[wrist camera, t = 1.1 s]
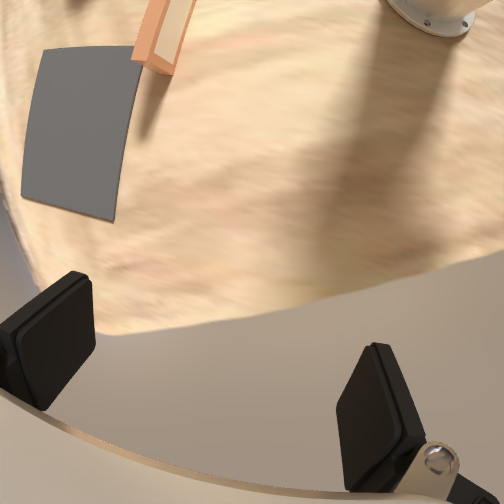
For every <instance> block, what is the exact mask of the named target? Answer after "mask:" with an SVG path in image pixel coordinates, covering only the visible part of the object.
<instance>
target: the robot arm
mask: <svg viewBox="0 0 504 504" xmlns="http://www.w3.org/2000/svg"><path fill="white" fill-rule="evenodd" d="M490 1H492V0H387V2H388V3H389V4H390V6H391V7H392V8H393V9H394V10H395V11H396V12H397V13H398V14H399V15H400V16H401V17H403V18H404V19H405V20H406V21H408V22H409V23H411V24H412V25H414V26H415V27H417V28H419V29H421V30H423V31H424V32H427V33H430V34H432V35H435V36H440V37H455V36H459V35H461V34H463V33H465V32H467V31H468V30H469V29H470V28H471V27H472V25H473V24H474V21H475V17H476V10H477V9H478V8H480V7H482V6H483V5H485V4H487V3H488V2H490ZM95 345H96V341H95V328H94V314H93V295H92V282H91V281H90V280H89V278H88V276H87V275H86V274H83V273H80V272H76V271H71V272H69V273H68V274H66V275H65V276H63V277H62V278H61V279H59V280H58V281H56V282H55V283H54V284H52V285H51V286H50V287H48V288H47V289H45V290H44V291H43V292H41V293H40V294H39V295H37V296H36V297H35V298H34V299H32V300H31V301H29V302H28V303H27V304H25V305H24V306H23V307H22V308H20V309H19V310H18V311H16V312H15V313H14V314H13V315H11V316H10V317H9V318H7V319H6V320H5V321H4V322H2V323H1V324H0V504H500V503H499V501H498V500H497V498H496V497H495V496H493V495H492V494H490V493H489V492H487V491H486V490H484V489H482V488H481V487H479V486H477V485H476V484H474V483H473V482H471V481H470V480H468V479H466V478H465V477H463V476H462V475H460V474H459V473H458V471H459V466H460V464H459V458H458V457H457V454H456V453H455V452H454V450H453V449H452V448H451V447H449V446H448V445H446V444H444V443H442V442H437V441H433V442H428V443H427V441H426V439H425V432H424V429H423V426H422V423H421V421H420V418H419V415H418V413H417V410H416V407H415V405H414V402H413V400H412V397H411V395H410V392H409V389H408V387H407V384H406V382H405V380H404V377H403V375H402V372H401V370H400V368H399V365H398V363H397V360H396V358H395V356H394V353H393V351H392V349H391V347H390V345H388V344H382V343H376V342H374V343H372V344H371V345H370V346H366V347H365V348H364V350H363V353H362V355H361V357H360V359H359V361H358V363H357V365H356V367H355V369H354V371H353V373H352V376H351V377H350V379H349V381H348V383H347V385H346V387H345V389H344V391H343V393H342V395H341V397H340V398H339V400H338V402H337V406H336V414H337V422H338V430H339V438H340V447H341V456H342V464H343V474H344V485H345V489H346V490H349V492H327V491H313V490H300V489H290V488H281V487H273V486H266V485H259V484H253V483H247V482H241V481H236V480H230V479H225V478H220V477H216V476H212V475H207V474H203V473H199V472H195V471H191V470H187V469H184V468H180V467H177V466H173V465H170V464H166V463H163V462H160V461H157V460H153V459H150V458H147V457H144V456H141V455H139V454H136V453H133V452H130V451H128V450H125V449H122V448H120V447H117V446H114V445H112V444H109V443H107V442H104V441H102V440H100V439H97V438H95V437H93V436H90V435H88V434H86V433H84V432H81V431H79V430H77V429H75V428H73V427H71V426H68V425H67V424H64V423H62V422H61V421H59V420H56V419H55V418H53V417H51V416H49V415H47V414H45V413H43V412H41V411H46V410H47V409H48V408H49V406H50V405H51V403H53V401H54V400H55V399H56V397H57V396H58V394H59V393H60V392H61V391H62V390H63V388H64V387H65V386H66V384H67V383H68V382H69V381H70V379H71V378H72V377H73V376H74V374H75V373H76V372H77V371H78V369H79V368H80V367H81V366H82V365H83V363H84V362H85V361H86V359H87V358H88V357H89V356H90V355H91V353H92V352H93V351H94V349H95Z"/></svg>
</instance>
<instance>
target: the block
mask: <svg viewBox="0 0 504 504" xmlns="http://www.w3.org/2000/svg"><path fill="white" fill-rule="evenodd" d="M195 3H196V0H150V2H149V4H148V7H147V10H146V13H145V16H144V19H143V21H142V24H141V27H140V31H139V34H138V37H137V40H136V43H135V47H134V50H133V53H132V57H131V60H132V61H134V62H136V63H138V64H140V65H142V66H144V67H146V68H148V69H150V70H152V71H154V72H156V73H158V74H164V75H174V71H175V67H176V64H177V60H178V57H179V53H180V50H181V46H182V43H183V40H184V36H185V33H186V30H187V27H188V24H189V21H190V18H191V15H192V12H193V9H194V6H195Z"/></svg>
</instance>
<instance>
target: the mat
mask: <svg viewBox="0 0 504 504" xmlns="http://www.w3.org/2000/svg"><path fill="white" fill-rule="evenodd" d="M134 47H135V46H89V47H71V48H58V49H48V50H44V51H43V55H42V58H41V62H40V66H39V70H38V74H37V78H36V82H35V87H34V91H33V96H32V101H31V107H30V112H29V118H28V124H27V131H26V139H25V147H24V156H23V167H22V181H21V196H23V197H27V198H30V199H34V200H38V201H41V202H45V203H48V204H52V205H56V206H59V207H63V208H67V209H70V210H74V211H78V212H82V213H85V214H89V215H93V216H96V217H100V218H104V219H107V220H111V221H114V220H115V210H116V202H117V194H118V187H119V180H120V173H121V166H122V160H123V154H124V149H125V143H126V138H127V133H128V127H129V123H130V118H131V113H132V109H133V104H134V100H135V96H136V91H137V87H138V83H139V79H140V76H141V72H142V68H143V66H142V65H140V64H138V63H136V62H134V61H132V60H131V57H132V53H133V50H134Z"/></svg>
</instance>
